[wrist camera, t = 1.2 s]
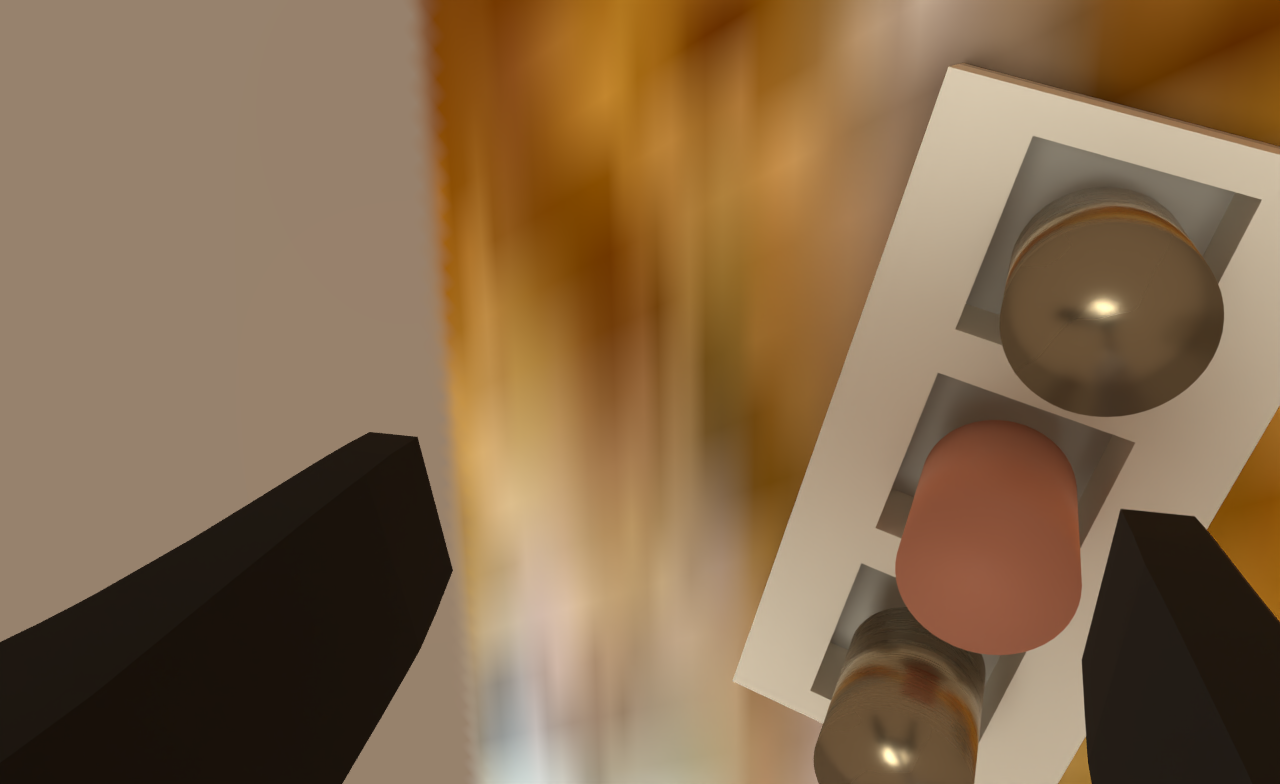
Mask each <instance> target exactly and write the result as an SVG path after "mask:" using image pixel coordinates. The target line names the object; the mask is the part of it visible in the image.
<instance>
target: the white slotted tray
mask: <svg viewBox="0 0 1280 784" xmlns="http://www.w3.org/2000/svg"><path fill="white" fill-rule="evenodd" d="M1095 187H1117V188H1124V189H1129V190H1133V191H1136V192H1139V193H1142V194H1144V195H1146V196H1148V197H1150V198H1152V199H1154V200H1156V201H1157V202H1158V203H1160V204H1161V205H1163V206H1164V207H1165V208H1166V209H1167V210H1168V211H1169V212H1170V213H1171V214H1172V215H1173V216H1174V217H1175V218H1176V220H1177V221H1178V222H1179V224H1180V225H1181V227H1182V228H1183V229H1184V231H1185V232H1186V234H1187V235H1188V237H1189V238H1190V240H1191V241H1192V243H1193V244H1194V245H1195V247H1196V248H1197V250H1198V251H1199V253H1200V254H1201V256H1202V257H1203V259H1204V260H1205V261H1206V263H1207V264H1208V266H1209V267H1210V269H1211V271H1212V273H1213V274H1214V276H1215V278H1216V280H1217V282H1218V285H1219V288H1220V290H1221V294H1222V299H1223V304H1224V324H1223V332H1222V336H1221V339H1220V343H1219V346H1218V348H1217V350H1216V353H1215V355H1214V357H1213V359H1212V360H1211V362H1210V363H1209V365H1208V367H1207V368H1206V370H1205V371H1204V372H1203V373H1202V374H1201V376H1200V377H1199V378H1198V379H1197V380H1196V381H1195V382H1194V383H1193V384H1192V385H1191V386H1190V387H1189V388H1187V389H1186V390H1185V391H1183V392H1182V393H1181V394H1179V395H1178V396H1176V397H1175V398H1173V399H1171V400H1170V401H1168V402H1166V403H1164V404H1162V405H1160V406H1158V407H1155V408H1153V409H1150V410H1147V411H1144V412H1140V413H1137V414H1132V415H1126V416H1117V417H1096V416H1088V415H1082V414H1077V413H1073V412H1070V411H1067V410H1064V409H1061V408H1059V407H1057V406H1054V405H1052V404H1050V403H1049V402H1047V401H1045V400H1043V399H1042V398H1040V397H1039V396H1038V395H1036V394H1035V393H1034V392H1032V391H1031V390H1030V389H1029V388H1028V387H1027V386H1026V385H1025V384H1024V383H1023V382H1022V381H1021V380H1020V379H1019V377H1018V376H1017V375H1016V374H1015V372H1014V371H1013V369H1012V367H1011V365H1010V364H1009V362H1008V360H1007V357H1006V355H1005V353H1004V350H1003V346H1002V342H1001V337H1000V327H999V325H1000V312H1001V306H1002V301H1003V296H1004V291H1005V286H1006V280H1007V275H1008V270H1009V265H1010V260H1011V255H1012V251H1013V249H1014V246H1015V243H1016V241H1017V239H1018V237H1019V235H1020V233H1021V232H1022V230H1023V229H1024V227H1025V226H1026V225H1027V223H1028V222H1029V221H1030V220H1031V219H1032V218H1033V217H1034V216H1035V215H1036V214H1037V213H1038V212H1039V211H1040V210H1041V209H1043V208H1044V207H1045V206H1047V205H1048V204H1050V203H1051V202H1053V201H1055V200H1057V199H1058V198H1060V197H1062V196H1065V195H1067V194H1070V193H1072V192H1075V191H1079V190H1083V189H1088V188H1095ZM1279 406H1280V146H1276V145H1272V144H1268V143H1265V142H1261V141H1257V140H1253V139H1249V138H1246V137H1242V136H1238V135H1234V134H1230V133H1227V132H1223V131H1219V130H1215V129H1212V128H1208V127H1204V126H1200V125H1196V124H1193V123H1189V122H1185V121H1181V120H1177V119H1174V118H1170V117H1166V116H1162V115H1159V114H1155V113H1151V112H1147V111H1143V110H1140V109H1136V108H1132V107H1128V106H1124V105H1121V104H1117V103H1113V102H1109V101H1106V100H1102V99H1098V98H1094V97H1090V96H1087V95H1083V94H1079V93H1075V92H1072V91H1068V90H1064V89H1060V88H1056V87H1053V86H1049V85H1045V84H1041V83H1037V82H1034V81H1030V80H1026V79H1022V78H1019V77H1015V76H1011V75H1007V74H1003V73H1000V72H996V71H992V70H988V69H984V68H981V67H977V66H973V65H969V64H966V63H961V64H957V65H953V66H949V67H948V70H947V73H946V75H945V78H944V81H943V84H942V87H941V90H940V92H939V95H938V98H937V101H936V104H935V107H934V109H933V112H932V115H931V118H930V121H929V124H928V127H927V129H926V132H925V135H924V138H923V141H922V144H921V146H920V149H919V152H918V155H917V158H916V161H915V163H914V166H913V169H912V172H911V175H910V178H909V181H908V183H907V186H906V189H905V192H904V195H903V198H902V200H901V203H900V206H899V209H898V212H897V215H896V217H895V220H894V223H893V226H892V229H891V232H890V235H889V237H888V240H887V243H886V246H885V249H884V252H883V254H882V257H881V260H880V263H879V266H878V269H877V272H876V274H875V277H874V280H873V283H872V286H871V289H870V291H869V294H868V297H867V300H866V303H865V306H864V308H863V311H862V314H861V317H860V320H859V323H858V326H857V328H856V331H855V334H854V337H853V340H852V343H851V345H850V348H849V351H848V354H847V357H846V360H845V362H844V365H843V368H842V371H841V374H840V377H839V380H838V382H837V385H836V388H835V391H834V394H833V397H832V399H831V402H830V405H829V408H828V411H827V414H826V416H825V419H824V422H823V425H822V428H821V431H820V434H819V436H818V439H817V442H816V445H815V448H814V451H813V453H812V456H811V459H810V462H809V465H808V468H807V471H806V473H805V476H804V479H803V482H802V485H801V488H800V490H799V493H798V496H797V499H796V502H795V505H794V507H793V510H792V513H791V516H790V519H789V522H788V525H787V527H786V530H785V533H784V536H783V539H782V542H781V544H780V547H779V550H778V553H777V556H776V559H775V561H774V564H773V567H772V570H771V573H770V576H769V579H768V581H767V584H766V587H765V590H764V593H763V596H762V598H761V601H760V604H759V607H758V610H757V613H756V615H755V618H754V621H753V624H752V627H751V630H750V633H749V635H748V638H747V641H746V644H745V647H744V650H743V652H742V655H741V658H740V661H739V664H738V667H737V670H736V672H735V675H734V678H733V682H735V683H737V684H739V685H742V686H744V687H746V688H748V689H750V690H752V691H754V692H757V693H759V694H761V695H763V696H765V697H767V698H769V699H771V700H774V701H776V702H778V703H780V704H782V705H784V706H786V707H788V708H791V709H793V710H795V711H797V712H799V713H801V714H803V715H805V716H808V717H810V718H812V719H814V720H816V721H818V722H820V723H822V724H823V723H824V720H825V717H826V714H827V711H828V708H829V705H830V702H831V699H832V696H833V693H834V690H835V687H836V684H837V681H838V678H839V676H840V673H841V670H842V667H843V664H844V661H845V658H846V655H847V652H848V649H849V646H850V643H851V640H852V637H853V635H854V633H855V631H856V630H857V628H858V627H859V626H860V624H862V623H863V622H864V621H865V620H866V619H867V618H869V617H870V616H871V615H873V614H875V613H877V612H880V611H883V610H885V609H890V608H895V607H907V606H906V605H905V603H904V601H903V599H902V597H901V595H900V592H899V589H898V585H897V581H896V574H895V562H896V556H897V552H898V548H899V545H900V542H901V538H902V535H903V532H904V529H905V525H906V522H907V519H908V515H909V512H910V509H911V506H912V502H913V499H914V496H915V492H916V489H917V486H918V483H919V479H920V476H921V473H922V469H923V466H924V463H925V461H926V459H927V457H928V455H929V453H930V451H931V450H932V449H933V447H934V446H935V445H936V444H937V443H938V442H939V441H940V440H941V439H942V438H943V437H944V436H946V435H947V434H948V433H950V432H951V431H953V430H955V429H957V428H959V427H961V426H964V425H966V424H970V423H973V422H978V421H984V420H1004V421H1010V422H1016V423H1019V424H1022V425H1026V426H1028V427H1030V428H1033V429H1035V430H1037V431H1039V432H1040V433H1042V434H1044V435H1045V436H1046V437H1048V438H1049V439H1050V440H1052V441H1053V442H1054V443H1055V444H1056V445H1057V446H1058V447H1059V448H1060V449H1061V450H1062V452H1063V453H1064V454H1065V455H1066V457H1067V459H1068V461H1069V462H1070V464H1071V466H1072V469H1073V471H1074V475H1075V479H1076V485H1077V501H1078V520H1079V539H1080V558H1081V577H1082V591H1081V598H1080V602H1079V606H1078V608H1077V611H1076V613H1075V615H1074V617H1073V618H1072V620H1071V621H1070V623H1069V624H1068V626H1067V627H1066V628H1065V629H1064V630H1063V631H1062V632H1061V633H1060V634H1059V635H1057V636H1056V637H1055V638H1054V639H1052V640H1051V641H1049V642H1047V643H1046V644H1044V645H1042V646H1040V647H1037V648H1035V649H1032V650H1029V651H1026V652H1022V653H1017V654H1010V655H987V654H982V657H983V660H984V664H985V671H986V675H985V687H984V697H983V706H982V715H981V725H980V734H979V744H978V753H977V763H976V772H975V781H974V784H1058V783H1059V781H1060V779H1061V777H1062V776H1063V774H1064V772H1065V771H1066V769H1067V767H1068V765H1069V764H1070V762H1071V760H1072V759H1073V757H1074V755H1075V754H1076V752H1077V750H1078V748H1079V747H1080V745H1081V743H1082V742H1083V740H1084V738H1085V736H1086V726H1085V712H1084V694H1083V676H1082V657H1083V653H1084V649H1085V645H1086V641H1087V637H1088V633H1089V629H1090V626H1091V622H1092V618H1093V614H1094V610H1095V606H1096V602H1097V598H1098V594H1099V591H1100V587H1101V583H1102V579H1103V575H1104V571H1105V567H1106V563H1107V559H1108V555H1109V552H1110V548H1111V544H1112V540H1113V536H1114V532H1115V528H1116V524H1117V520H1118V517H1119V513H1120V509H1129V510H1139V511H1148V512H1158V513H1168V514H1178V515H1188V516H1195V517H1196V518H1197V519H1198V520H1199V521H1200V523H1201V524H1202V525H1203V526H1204V527H1205V528H1206V530H1207V528H1208V527H1209V525H1210V523H1211V522H1212V520H1213V518H1214V516H1215V515H1216V513H1217V511H1218V510H1219V508H1220V506H1221V505H1222V503H1223V501H1224V499H1225V498H1226V496H1227V494H1228V493H1229V491H1230V489H1231V487H1232V486H1233V484H1234V482H1235V481H1236V479H1237V477H1238V476H1239V474H1240V472H1241V470H1242V469H1243V467H1244V465H1245V464H1246V462H1247V460H1248V458H1249V457H1250V455H1251V453H1252V452H1253V450H1254V448H1255V447H1256V445H1257V443H1258V441H1259V440H1260V438H1261V436H1262V435H1263V433H1264V431H1265V429H1266V428H1267V426H1268V424H1269V423H1270V421H1271V419H1272V418H1273V416H1274V414H1275V412H1276V411H1277V409H1278V407H1279Z"/></svg>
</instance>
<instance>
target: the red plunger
mask: <svg viewBox="0 0 1280 784" xmlns="http://www.w3.org/2000/svg"><path fill="white" fill-rule="evenodd" d="M895 574H896V581H897V585H898V589H899V592H900V595H901V597H902V599H903V601H904V603H905V605H906V606H907V608H908V610H909V611H910V612H911V614H912V615H913V616H914V617H915V619H916V620H917V621H918V622H919V623H920V624H921V625H922V626H923V627H924V628H926V629H927V630H928V631H929V632H931V633H932V634H933V635H935V636H936V637H938V638H940V639H941V640H943V641H945V642H947V643H949V644H951V645H953V646H955V647H958V648H961V649H964V650H967V651H971V652H975V653H980V654H987V655H1010V654H1017V653H1022V652H1026V651H1029V650H1032V649H1035V648H1037V647H1040V646H1042V645H1044V644H1046V643H1047V642H1049V641H1051V640H1052V639H1054V638H1055V637H1056V636H1057V635H1059V634H1060V633H1061V632H1062V631H1063V630H1064V629H1065V628H1066V627H1067V626H1068V624H1069V623H1070V621H1071V620H1072V618H1073V617H1074V615H1075V613H1076V611H1077V608H1078V606H1079V602H1080V598H1081V591H1082V577H1081V558H1080V539H1079V520H1078V501H1077V485H1076V479H1075V475H1074V471H1073V469H1072V466H1071V464H1070V462H1069V461H1068V459H1067V457H1066V455H1065V454H1064V453H1063V452H1062V450H1061V449H1060V448H1059V447H1058V446H1057V445H1056V444H1055V443H1054V442H1053V441H1052V440H1050V439H1049V438H1048V437H1046V436H1045V435H1044V434H1042V433H1040V432H1039V431H1037V430H1035V429H1033V428H1030V427H1028V426H1026V425H1022V424H1019V423H1016V422H1010V421H1004V420H984V421H978V422H973V423H970V424H966V425H964V426H961V427H959V428H957V429H955V430H953V431H951V432H950V433H948V434H947V435H946V436H944V437H943V438H942V439H941V440H940V441H939V442H938V443H937V444H936V445H935V446H934V447H933V449H932V450H931V451H930V453H929V455H928V457H927V459H926V461H925V463H924V466H923V469H922V473H921V476H920V479H919V483H918V486H917V489H916V492H915V496H914V499H913V502H912V506H911V509H910V512H909V515H908V519H907V522H906V525H905V529H904V532H903V535H902V538H901V542H900V545H899V548H898V552H897V556H896V562H895Z"/></svg>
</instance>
